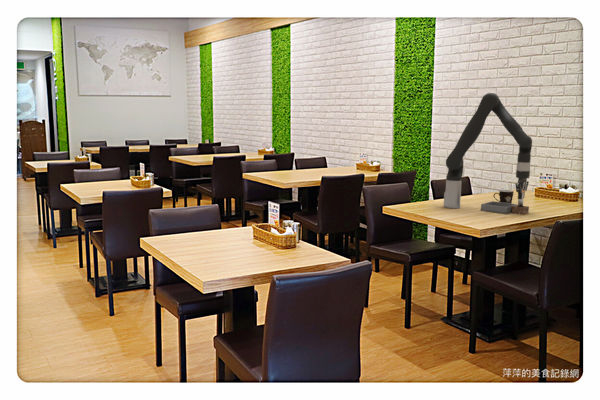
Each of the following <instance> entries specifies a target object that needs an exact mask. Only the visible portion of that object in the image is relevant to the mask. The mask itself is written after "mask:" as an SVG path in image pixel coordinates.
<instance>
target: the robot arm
mask: <svg viewBox="0 0 600 400" xmlns="http://www.w3.org/2000/svg"><path fill="white" fill-rule="evenodd" d="M491 112H493V113H494V114H495V116H497V118H498V119H499V120H500V122H501V124H502V125H503V127H504V128H505V130H507V132H508V133H509V134H510V135H511V136H512V137H513V139H514V140H515V142H516V143H517V145H518V146H519V147H518V153H517V163H516V171H515V178H517V182H515V190H516V192H517V199H522V191H523V190H524V196H525V194H526V192H527V190H528V187H529V183H530V182H529V181H528V179H530V175H531V153H532V146H533V139H532V137H531V136H530V135H527V133H526V132H525V131H524V130H523V127H522V126H521V125H520V123H518V121H517V120H516V119H515V118H514V117H513V115H511V113H509V111H508V110H507V108H506V107H505V106H504V104H503V103H502V101H501V99H500V98H499V96H498V94H496V93H495V92H489V93H486V94H484V95H483V97H482V98H481V100H480V102H479V105H478V107H477V109H476V111H475V113H474V114H473V115H472V116H471V118H470V119H469V121H468V123H467V124H466V126H465V128H464V130H463V132H462V133H461V135H460V136H459V138H458V140H457V142H456V145H455V147H454V148H453V149H452V151H451V152H450V154H449V155H448V156H447V158H446V160H445V165H446V168H447V174H446V176H445V177H446V179H445V191H444V193H443V208H447V209H460V208H461V198H462V180H463V178H462V177H463V174H464V157H465V154H466V153H467V151H468V150H469V149H470V148H471V147H472V145H474V143H475V142H476V140H477V139H478V138H479V136H480V134H481V133H482V130H483V128H484V126H485V123H486V120H487V119H488V117H489V115H490V114H491Z"/></svg>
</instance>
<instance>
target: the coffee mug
mask: <svg viewBox="0 0 600 400" xmlns="http://www.w3.org/2000/svg"><path fill="white" fill-rule="evenodd" d="M496 195H498V196H499V199H497V198H496ZM513 196H514V190H511V189H500V190H499V191H498V192H495V193H494V194H493V198H494V200H496V202H503V203H511V204H513V198H514V197H513Z"/></svg>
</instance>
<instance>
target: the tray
mask: <svg viewBox="0 0 600 400" xmlns="http://www.w3.org/2000/svg"><path fill="white" fill-rule="evenodd" d="M516 205H518V203H503V202H499V201H494V200H492V201H488V202H484V203H481V204H480V212H481V211H482V212H489V213H497V214H502V213H503V215H507V214H511V213H512V206H516Z"/></svg>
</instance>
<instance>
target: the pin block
mask: <svg viewBox="0 0 600 400" xmlns="http://www.w3.org/2000/svg"><path fill="white" fill-rule="evenodd" d="M529 211H530V206H529V205H523V207H518V204H517V205H516V206H512V212H511V213H512V214H515V213H516V214H517V215H523V216H524V215H527V214H529Z"/></svg>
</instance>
